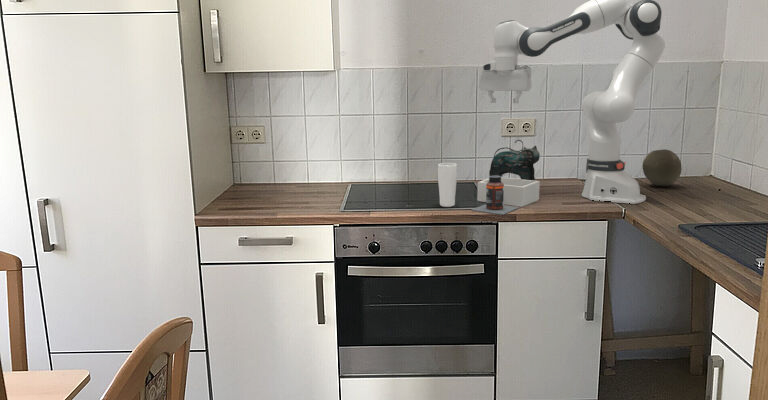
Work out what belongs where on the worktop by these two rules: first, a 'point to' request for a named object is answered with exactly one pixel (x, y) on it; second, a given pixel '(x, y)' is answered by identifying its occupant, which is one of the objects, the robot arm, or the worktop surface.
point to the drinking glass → (447, 183)
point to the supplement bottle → (494, 193)
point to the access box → (513, 191)
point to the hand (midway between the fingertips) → (504, 103)
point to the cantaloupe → (662, 167)
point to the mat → (500, 212)
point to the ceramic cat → (515, 162)
